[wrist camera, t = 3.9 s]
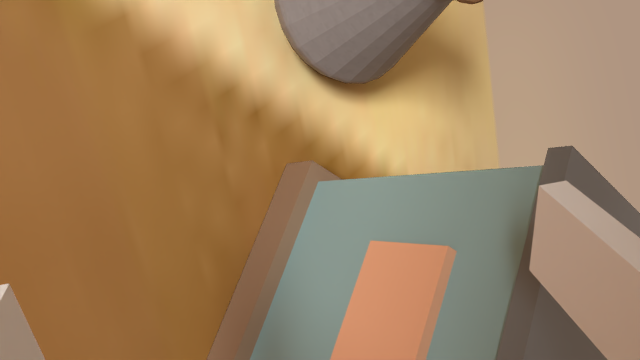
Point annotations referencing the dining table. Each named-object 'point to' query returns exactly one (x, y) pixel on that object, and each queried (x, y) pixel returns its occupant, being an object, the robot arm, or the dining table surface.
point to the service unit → (408, 268)
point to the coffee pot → (356, 33)
